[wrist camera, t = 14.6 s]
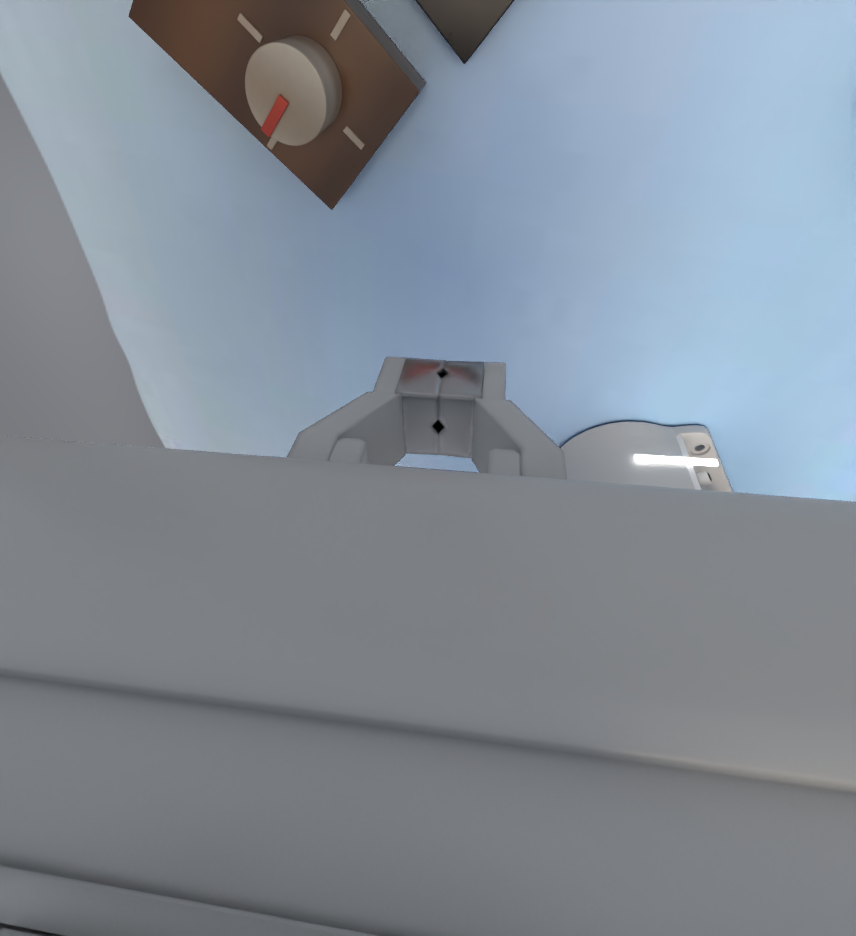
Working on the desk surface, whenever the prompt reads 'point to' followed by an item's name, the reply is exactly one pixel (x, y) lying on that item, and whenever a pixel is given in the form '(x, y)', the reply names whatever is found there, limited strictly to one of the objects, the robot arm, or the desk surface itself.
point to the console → (276, 17)
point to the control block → (464, 21)
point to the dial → (293, 89)
